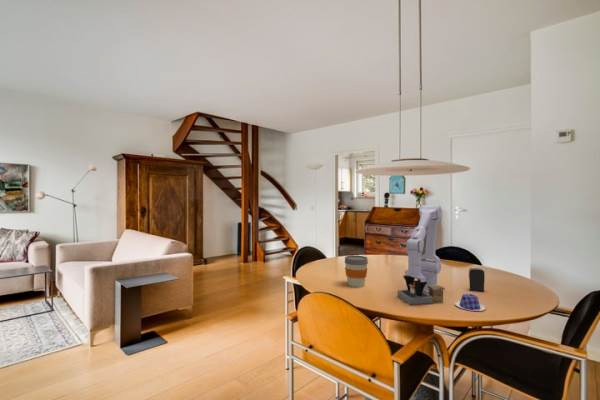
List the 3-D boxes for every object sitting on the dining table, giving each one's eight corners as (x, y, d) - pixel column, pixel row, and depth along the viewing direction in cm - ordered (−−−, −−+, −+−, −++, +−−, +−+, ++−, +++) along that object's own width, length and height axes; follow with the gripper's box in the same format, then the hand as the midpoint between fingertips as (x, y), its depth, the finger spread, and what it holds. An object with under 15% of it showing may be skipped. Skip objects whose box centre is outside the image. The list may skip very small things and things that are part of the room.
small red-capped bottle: (415, 297, 144) (415, 282, 144) (421, 300, 140) (421, 285, 140) (407, 297, 143) (407, 283, 143) (412, 300, 139) (412, 286, 139)
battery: (483, 290, 157) (483, 268, 157) (484, 292, 153) (485, 269, 153) (468, 288, 159) (468, 267, 159) (469, 290, 156) (469, 268, 156)
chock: (427, 299, 142) (427, 285, 142) (438, 299, 143) (438, 284, 143) (433, 303, 138) (433, 288, 138) (444, 302, 139) (444, 287, 139)
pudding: (471, 301, 140) (471, 290, 140) (492, 311, 129) (492, 299, 129) (448, 303, 138) (448, 292, 138) (468, 313, 126) (468, 301, 126)
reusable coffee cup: (367, 288, 159) (368, 260, 159) (343, 287, 161) (344, 259, 161) (367, 282, 171) (367, 255, 171) (345, 280, 174) (345, 255, 174)
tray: (397, 296, 147) (397, 290, 147) (418, 295, 149) (418, 289, 149) (410, 305, 135) (410, 298, 135) (432, 303, 137) (432, 297, 137)
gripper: (399, 261, 148) (399, 288, 148) (415, 268, 134) (415, 298, 134) (412, 260, 149) (412, 288, 149) (429, 267, 135) (429, 297, 135)
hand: (414, 293), depth 142 cm, fingers open, 7 cm apart
